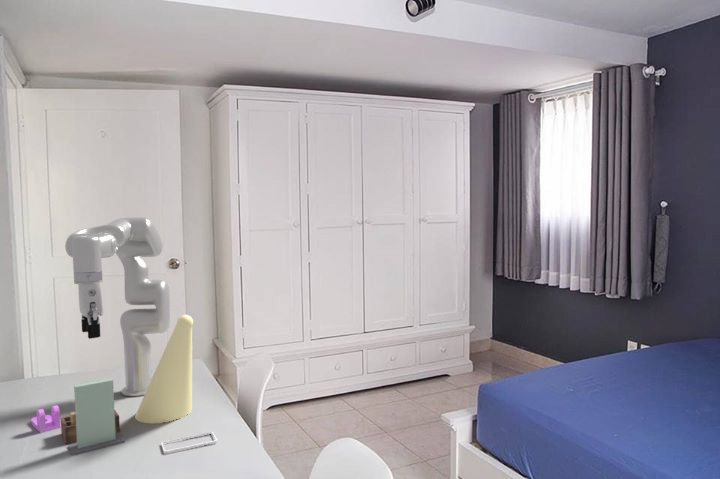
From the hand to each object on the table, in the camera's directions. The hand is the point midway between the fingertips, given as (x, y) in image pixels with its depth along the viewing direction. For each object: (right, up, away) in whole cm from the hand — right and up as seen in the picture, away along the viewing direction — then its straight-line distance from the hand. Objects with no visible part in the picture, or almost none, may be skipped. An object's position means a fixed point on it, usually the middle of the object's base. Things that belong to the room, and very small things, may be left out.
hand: (91, 334), depth 161 cm
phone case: (+30, -33, -1) cm, 44 cm away
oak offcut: (-5, -32, +4) cm, 33 cm away
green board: (+2, -32, -1) cm, 32 cm away
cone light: (+16, -31, +22) cm, 41 cm away
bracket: (-22, -32, +15) cm, 42 cm away
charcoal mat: (+2, -32, -1) cm, 32 cm away
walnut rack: (-4, -32, +8) cm, 33 cm away
